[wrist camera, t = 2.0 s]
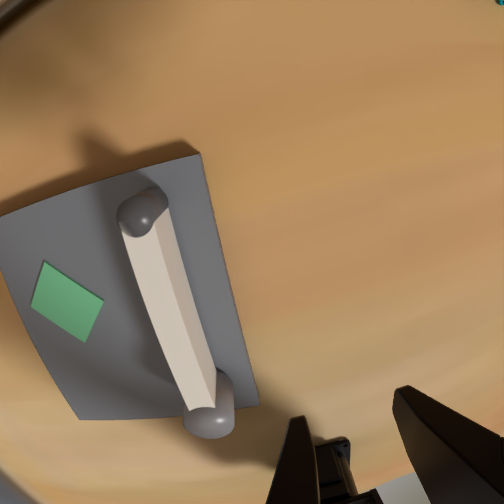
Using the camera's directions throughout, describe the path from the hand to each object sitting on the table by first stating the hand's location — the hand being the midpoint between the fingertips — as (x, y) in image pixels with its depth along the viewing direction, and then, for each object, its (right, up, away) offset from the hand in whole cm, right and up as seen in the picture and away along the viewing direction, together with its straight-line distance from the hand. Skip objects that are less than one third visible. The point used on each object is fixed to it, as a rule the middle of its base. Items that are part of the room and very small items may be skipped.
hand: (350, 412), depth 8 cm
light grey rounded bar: (-7, +1, +11) cm, 13 cm away
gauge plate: (-12, 0, +13) cm, 17 cm away
